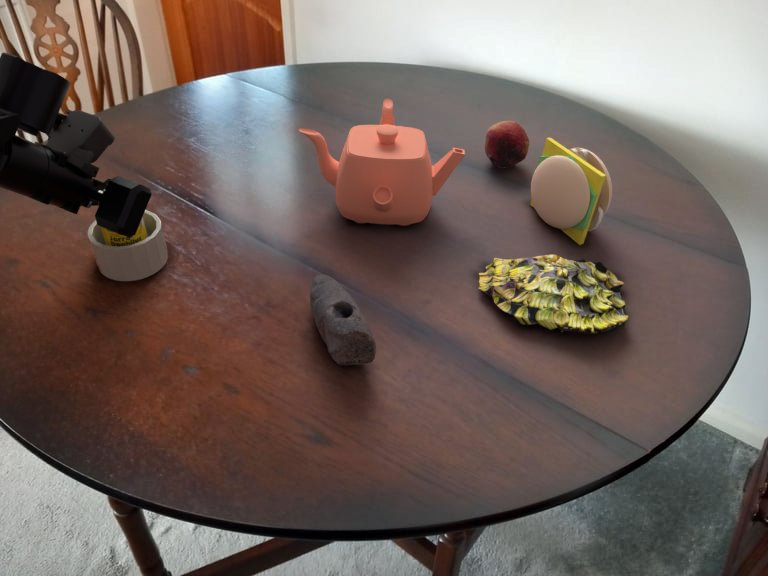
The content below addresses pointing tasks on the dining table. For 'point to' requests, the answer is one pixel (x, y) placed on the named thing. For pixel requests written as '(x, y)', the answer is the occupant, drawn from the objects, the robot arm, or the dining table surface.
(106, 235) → the supplement bottle
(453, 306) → the dining table surface
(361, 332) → the perforated stone tool
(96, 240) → the beige cup
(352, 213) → the teapot
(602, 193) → the hamburger
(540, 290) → the scaly yellow mound
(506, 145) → the fruit
